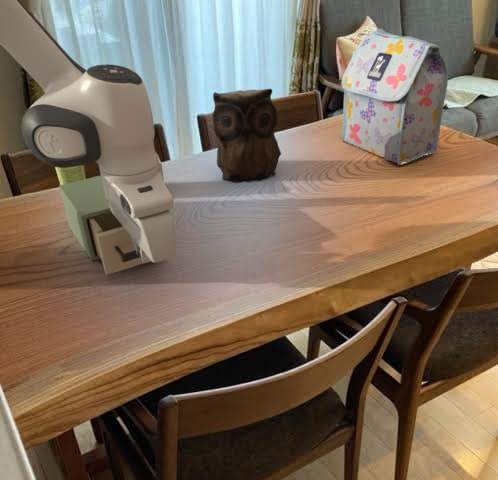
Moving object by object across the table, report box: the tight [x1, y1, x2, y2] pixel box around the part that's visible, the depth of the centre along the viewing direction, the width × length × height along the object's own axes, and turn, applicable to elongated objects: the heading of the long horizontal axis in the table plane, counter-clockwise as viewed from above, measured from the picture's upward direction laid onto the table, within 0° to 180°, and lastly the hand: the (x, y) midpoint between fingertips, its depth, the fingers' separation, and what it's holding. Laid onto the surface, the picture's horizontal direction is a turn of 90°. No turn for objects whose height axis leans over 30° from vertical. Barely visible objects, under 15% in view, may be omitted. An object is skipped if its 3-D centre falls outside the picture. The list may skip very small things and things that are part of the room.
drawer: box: [86, 212, 144, 276], centre depth 99 cm, size 18×11×8 cm, turn 31°
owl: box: [212, 88, 282, 184], centre depth 123 cm, size 13×13×20 cm
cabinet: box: [58, 174, 112, 262], centre depth 106 cm, size 15×13×10 cm
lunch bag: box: [340, 28, 449, 166], centre depth 131 cm, size 22×17×26 cm
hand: (144, 258), depth 91 cm, fingers closed
